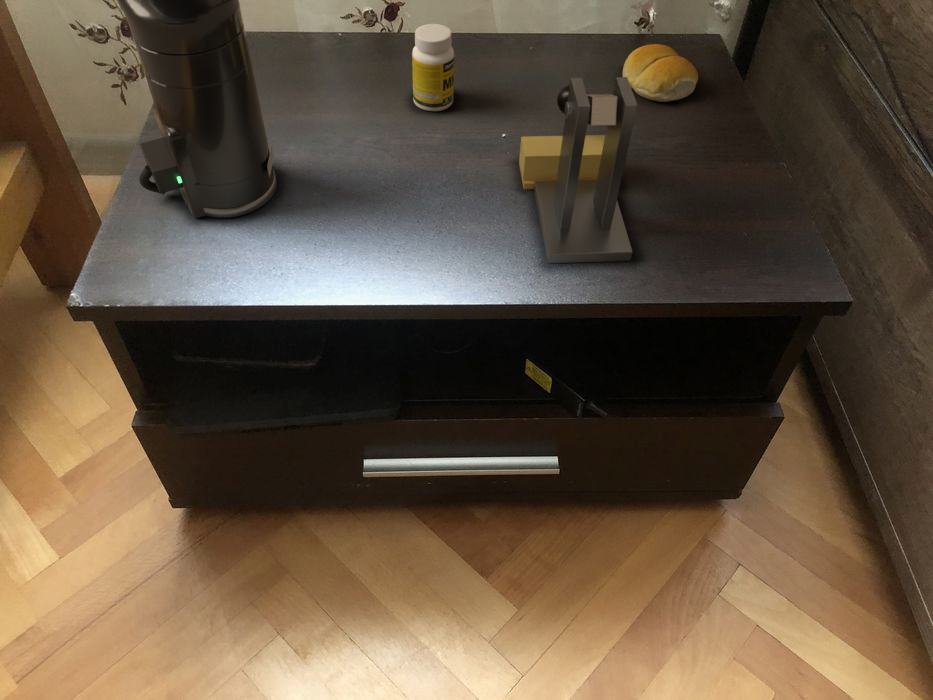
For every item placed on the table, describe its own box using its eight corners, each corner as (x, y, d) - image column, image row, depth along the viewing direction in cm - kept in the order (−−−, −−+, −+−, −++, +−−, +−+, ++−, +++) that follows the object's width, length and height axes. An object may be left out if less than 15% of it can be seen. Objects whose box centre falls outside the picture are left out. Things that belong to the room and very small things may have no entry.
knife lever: (554, 115, 81) (555, 82, 80) (584, 114, 81) (585, 82, 80) (584, 130, 67) (586, 91, 66) (621, 130, 67) (623, 91, 66)
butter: (518, 163, 84) (520, 133, 81) (611, 161, 84) (617, 131, 82) (522, 189, 81) (525, 159, 78) (619, 187, 82) (625, 157, 79)
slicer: (533, 190, 81) (548, 57, 70) (609, 188, 82) (636, 56, 70) (547, 263, 74) (566, 129, 63) (630, 261, 74) (664, 128, 63)
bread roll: (661, 58, 99) (668, 28, 95) (705, 94, 93) (714, 63, 90) (606, 72, 96) (611, 42, 93) (648, 110, 91) (655, 79, 88)
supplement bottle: (448, 115, 89) (449, 46, 83) (408, 109, 90) (406, 40, 83) (457, 92, 92) (458, 24, 86) (418, 87, 93) (417, 19, 86)
